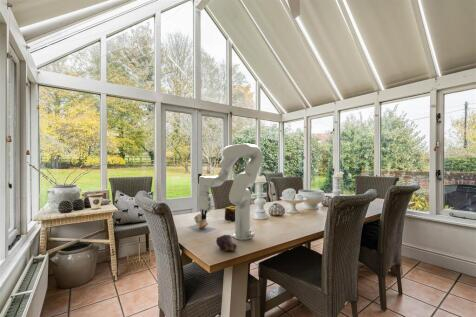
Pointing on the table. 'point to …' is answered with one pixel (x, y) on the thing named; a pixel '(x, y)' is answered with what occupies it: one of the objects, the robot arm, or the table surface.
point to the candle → (230, 213)
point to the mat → (205, 229)
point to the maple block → (200, 221)
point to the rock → (226, 243)
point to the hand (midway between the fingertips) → (203, 219)
